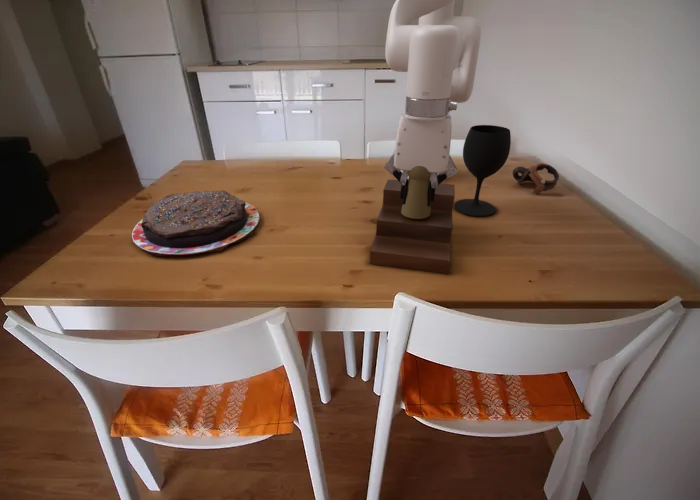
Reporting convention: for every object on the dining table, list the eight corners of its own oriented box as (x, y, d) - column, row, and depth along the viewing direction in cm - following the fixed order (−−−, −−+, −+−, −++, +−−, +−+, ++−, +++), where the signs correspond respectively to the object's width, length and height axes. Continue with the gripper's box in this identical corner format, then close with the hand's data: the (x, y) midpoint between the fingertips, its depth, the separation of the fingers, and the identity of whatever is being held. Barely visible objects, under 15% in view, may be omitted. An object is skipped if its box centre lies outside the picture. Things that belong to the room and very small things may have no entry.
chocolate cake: (256, 252, 74) (252, 224, 70) (112, 265, 70) (99, 236, 67) (262, 199, 97) (259, 176, 94) (154, 207, 94) (147, 183, 90)
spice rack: (447, 273, 67) (455, 226, 62) (369, 263, 70) (371, 218, 65) (448, 224, 85) (454, 184, 79) (385, 217, 88) (387, 179, 82)
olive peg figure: (429, 206, 76) (435, 156, 70) (431, 219, 71) (438, 165, 65) (400, 205, 76) (404, 155, 71) (401, 218, 71) (405, 164, 66)
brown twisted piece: (544, 183, 108) (562, 165, 101) (543, 207, 103) (562, 189, 96) (506, 171, 108) (521, 152, 101) (504, 194, 104) (519, 176, 97)
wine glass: (502, 207, 92) (521, 128, 82) (484, 221, 86) (502, 137, 75) (465, 197, 98) (479, 122, 88) (446, 208, 92) (458, 129, 81)
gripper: (474, 106, 64) (458, 199, 74) (382, 102, 68) (379, 192, 77) (476, 113, 58) (459, 214, 68) (376, 110, 62) (373, 206, 71)
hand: (416, 202), depth 72 cm, fingers closed on olive peg figure, 4 cm apart
